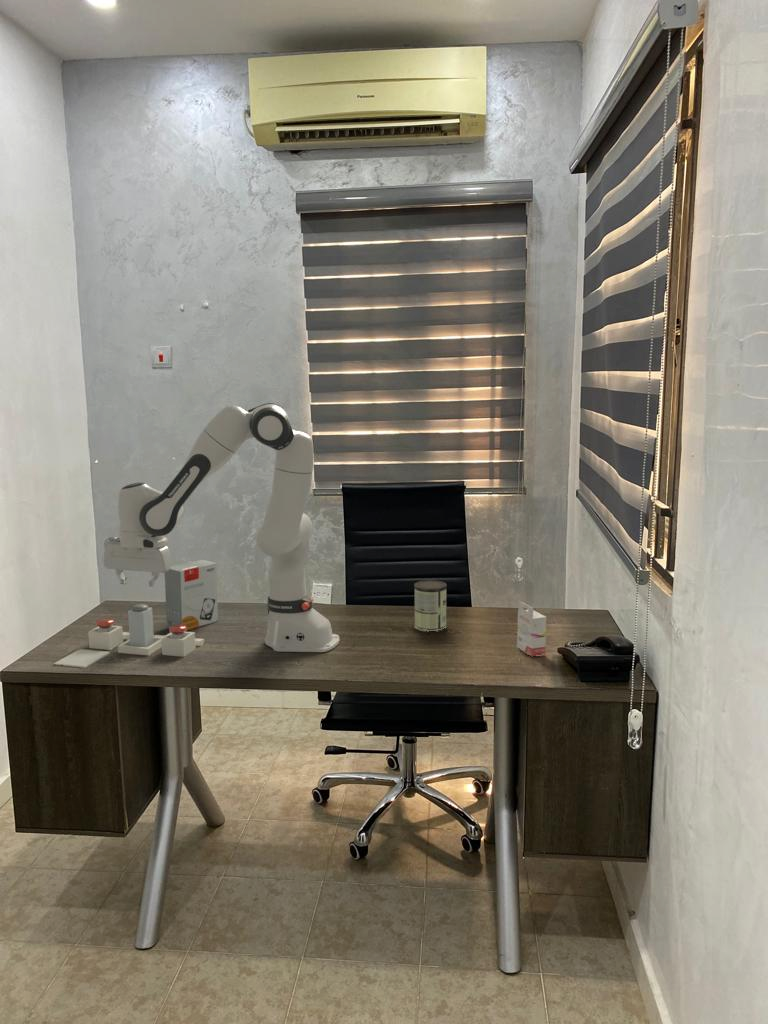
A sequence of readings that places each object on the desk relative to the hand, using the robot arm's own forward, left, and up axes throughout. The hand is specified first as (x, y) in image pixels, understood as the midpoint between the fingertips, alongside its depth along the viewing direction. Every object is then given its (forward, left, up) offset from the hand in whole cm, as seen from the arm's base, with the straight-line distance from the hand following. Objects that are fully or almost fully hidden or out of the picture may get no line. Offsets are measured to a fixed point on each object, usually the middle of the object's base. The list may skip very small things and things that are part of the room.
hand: (138, 585), depth 235 cm
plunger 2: (-12, 0, -19) cm, 22 cm away
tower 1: (+12, 0, -19) cm, 23 cm away
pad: (+12, +12, -19) cm, 26 cm away
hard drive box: (-4, -24, -20) cm, 31 cm away
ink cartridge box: (-112, -24, -20) cm, 116 cm away
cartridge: (0, 0, -19) cm, 19 cm away
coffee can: (-79, -40, -20) cm, 91 cm away
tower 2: (-12, 0, -19) cm, 23 cm away
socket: (0, -2, -19) cm, 19 cm away
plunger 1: (+12, 0, -19) cm, 22 cm away
